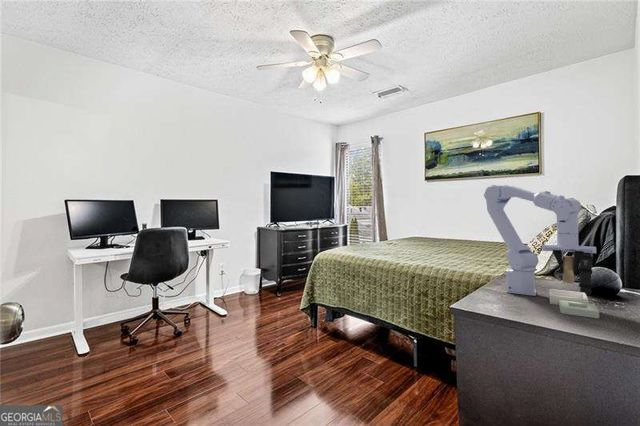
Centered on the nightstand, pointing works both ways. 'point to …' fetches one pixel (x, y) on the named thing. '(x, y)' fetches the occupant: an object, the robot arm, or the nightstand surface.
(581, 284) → the magazine
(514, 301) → the nightstand surface
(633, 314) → the nightstand surface
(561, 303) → the holder
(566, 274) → the dowel
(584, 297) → the tray
